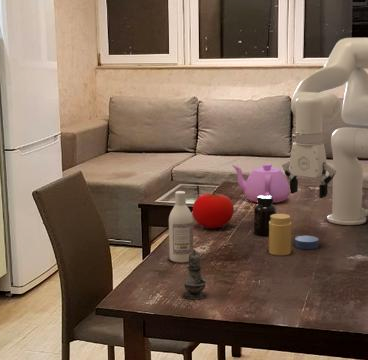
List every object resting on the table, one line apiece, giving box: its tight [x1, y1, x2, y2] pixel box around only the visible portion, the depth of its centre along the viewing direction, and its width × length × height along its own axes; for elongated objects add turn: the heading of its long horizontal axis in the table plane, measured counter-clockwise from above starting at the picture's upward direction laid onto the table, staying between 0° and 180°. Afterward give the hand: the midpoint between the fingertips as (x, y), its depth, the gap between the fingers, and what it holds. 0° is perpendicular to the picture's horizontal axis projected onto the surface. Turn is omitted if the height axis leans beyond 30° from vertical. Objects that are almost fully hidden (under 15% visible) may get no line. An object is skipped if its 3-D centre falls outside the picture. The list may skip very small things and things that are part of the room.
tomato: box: [192, 192, 235, 230], centre depth 247 cm, size 13×14×12 cm
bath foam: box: [168, 190, 194, 264], centre depth 213 cm, size 7×7×20 cm
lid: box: [294, 235, 320, 250], centre depth 224 cm, size 7×7×2 cm
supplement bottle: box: [253, 196, 277, 237], centre depth 237 cm, size 7×7×12 cm
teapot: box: [231, 163, 291, 204], centre depth 282 cm, size 22×22×14 cm
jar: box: [268, 213, 292, 256], centre depth 218 cm, size 6×6×11 cm
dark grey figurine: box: [182, 248, 207, 300], centre depth 185 cm, size 6×6×12 cm
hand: (308, 194), depth 222 cm, fingers open, 9 cm apart
